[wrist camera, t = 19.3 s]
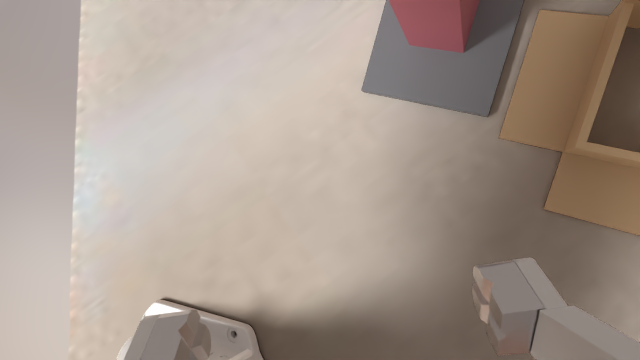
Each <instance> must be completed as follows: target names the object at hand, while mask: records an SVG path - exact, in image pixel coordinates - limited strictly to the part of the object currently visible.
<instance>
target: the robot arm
mask: <svg viewBox="0 0 640 360" xmlns="http://www.w3.org/2000/svg"><path fill="white" fill-rule="evenodd" d="M473 277H474V279H475V281H476V282H475V283H474V284H473V285H472V296H473V302H474V305H475V308H476V311H477V313H478V316H479V318H480V319H481V320H482V321H484V322H485V323H486V324H487V335H488V338H489V340H490V342H491V344H492V346H493V348H494V351H495V353H496V355H497V356H503V355H512V354H522V353H530V355H532V356H533V357H534V358H535V359H536V360H640V343H639V342H638V341H636V340H634V339H632V338H631V337H629V336H627V335H625V334H624V333H622V332H620V331H618V330H617V329H615V328H613V327H611V326H610V325H608V324H606V323H604V322H603V321H601V320H599V319H597V318H596V317H594V316H592V315H590V314H588V313H587V312H585V311H583V310H581V309H580V308H578V307H576V306H574V305H572V306H568V305H567V304H566V302H565V301H564V300H563V298H562V297H561V296H560V294H559V293H558V291H557V290H556V289H555V287H554V286H553V284H552V283H551V282H550V280H549V279H548V278H547V276H546V275H545V273H544V272H543V271H542V269H541V268H540V266H539V265H538V264H537V262H536V261H535V260H534V259H533V258H531V257H527V258H521V259H514V260H506V261H500V262H494V263H488V264H482V265H476V266H474V268H473ZM234 331H235V332H236V333H237V335H235V333H234ZM116 360H264V359H263V358H262V356H261V354H260V351H259V347H258V343H257V339H256V335H255V333H254V330H253V329H252V327H251V326H249V325H248V324H245V323H242V322H238V321H235V320H232V319H228V318H225V317H221V316H218V315H214V314H211V313H207V312H204V311H200V310H197V309H193V308H190V307H186V306H183V305H179V304H176V303H172V302H169V301H165V300H158V301H156V302H154V303H153V304H152V305H151V306H150V307H149V308H148V309H147V311H146V312H145V314H144V315H143V317H142V319H141V321H140V323H139V326H138V328H137V330H136V333H135V334H133V335H132V336H131V337H130V338H129V339H128V340H127V341H126V342H125V344H124V345H123V347H122V348H121V350H120V352H119V354H118V357H117V359H116Z"/></svg>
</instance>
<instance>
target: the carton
mask: <svg viewBox="0 0 640 360" xmlns="http://www.w3.org/2000/svg"><path fill="white" fill-rule="evenodd" d="M626 27H628V28H638V29H640V0H622V1H621V2H620V3H619V5H618V6H617V7H616V8H615V10H614V11H613V12H612V13H611V14H610V16H602V15H591V14H580V13H570V12H559V11H548V10H539V13H538V16H537V19H536V22H535V26H534V29H533V32H532V35H531V38H530V41H529V44H528V48H527V51H526V54H525V57H524V60H523V63H522V66H521V70H520V73H519V76H518V79H517V82H516V85H515V89H514V92H513V95H512V98H511V101H510V104H509V107H508V111H507V114H506V117H505V120H504V123H503V126H502V129H501V133H500V136H499V138H501V139H505V140H510V141H514V142H519V143H523V144H528V145H532V146H537V147H541V148H546V149H550V150H555V151H560V152H562V155H561V158H560V161H559V164H558V167H557V170H556V173H555V176H554V179H553V182H552V185H551V188H550V191H549V194H548V197H547V200H546V203H545V205H544V208H543V209H545V210H549V211H552V212H556V213H559V214H563V215H567V216H570V217H574V218H577V219H581V220H585V221H588V222H592V223H596V224H599V225H603V226H606V227H610V228H614V229H617V230H621V231H624V232H628V233H632V234H635V235H639V236H640V153H638V152H633V151H629V150H624V149H619V148H614V147H609V146H604V145H599V144H595V143H590V142H587V140H588V137H589V134H590V131H591V128H592V125H593V122H594V120H595V117H596V114H597V111H598V108H599V105H600V102H601V99H602V96H603V93H604V90H605V88H606V85H607V82H608V79H609V76H610V73H611V70H612V67H613V64H614V61H615V58H616V55H617V53H618V50H619V47H620V44H621V41H622V38H623V35H624V32H625V29H626Z"/></svg>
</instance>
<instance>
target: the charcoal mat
mask: <svg viewBox="0 0 640 360" xmlns="http://www.w3.org/2000/svg"><path fill="white" fill-rule="evenodd" d="M523 2H524V0H480V1H479V4H478V7H477V11H476V14H475V17H474V20H473V24H472V27H471V30H470V34H469V37H468V40H467V44H466V47H465V50H464V53H460V52H453V51H446V50H439V49H432V48H425V47H418V46H411V45H409V43H408V41H407V39H406V37H405V34H404V32H403V30H402V28H401V26H400V24H399V22H398V19H397V17H396V15H395V13H394V11H393V9H392V7H391V4H390V2H389V0H386V3H385V6H384V10H383V14H382V17H381V21H380V24H379V28H378V32H377V35H376V39H375V43H374V46H373V50H372V54H371V57H370V61H369V64H368V68H367V72H366V75H365V79H364V83H363V86H362V91H363V92H366V93H371V94H376V95H380V96H385V97H390V98H395V99H400V100H405V101H410V102H415V103H420V104H425V105H430V106H435V107H440V108H445V109H450V110H455V111H460V112H465V113H470V114H474V115H479V116H484V117H488V114H489V111H490V108H491V105H492V101H493V98H494V95H495V92H496V89H497V86H498V82H499V79H500V76H501V73H502V70H503V66H504V63H505V60H506V57H507V54H508V50H509V47H510V44H511V41H512V38H513V34H514V31H515V28H516V25H517V22H518V18H519V15H520V12H521V9H522V6H523Z"/></svg>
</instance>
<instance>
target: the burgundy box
mask: <svg viewBox="0 0 640 360" xmlns="http://www.w3.org/2000/svg"><path fill="white" fill-rule="evenodd" d="M479 1H480V0H389V2H390V4H391V7H392V9H393V11H394V13H395V15H396V17H397V19H398V22H399V24H400V26H401V28H402V30H403V32H404V34H405V37H406V39H407V41H408V43H409V45H411V46H418V47H425V48H432V49H439V50H446V51H453V52H460V53H464V50H465V47H466V44H467V40H468V37H469V34H470V30H471V27H472V24H473V20H474V17H475V14H476V11H477V7H478V4H479Z"/></svg>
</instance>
